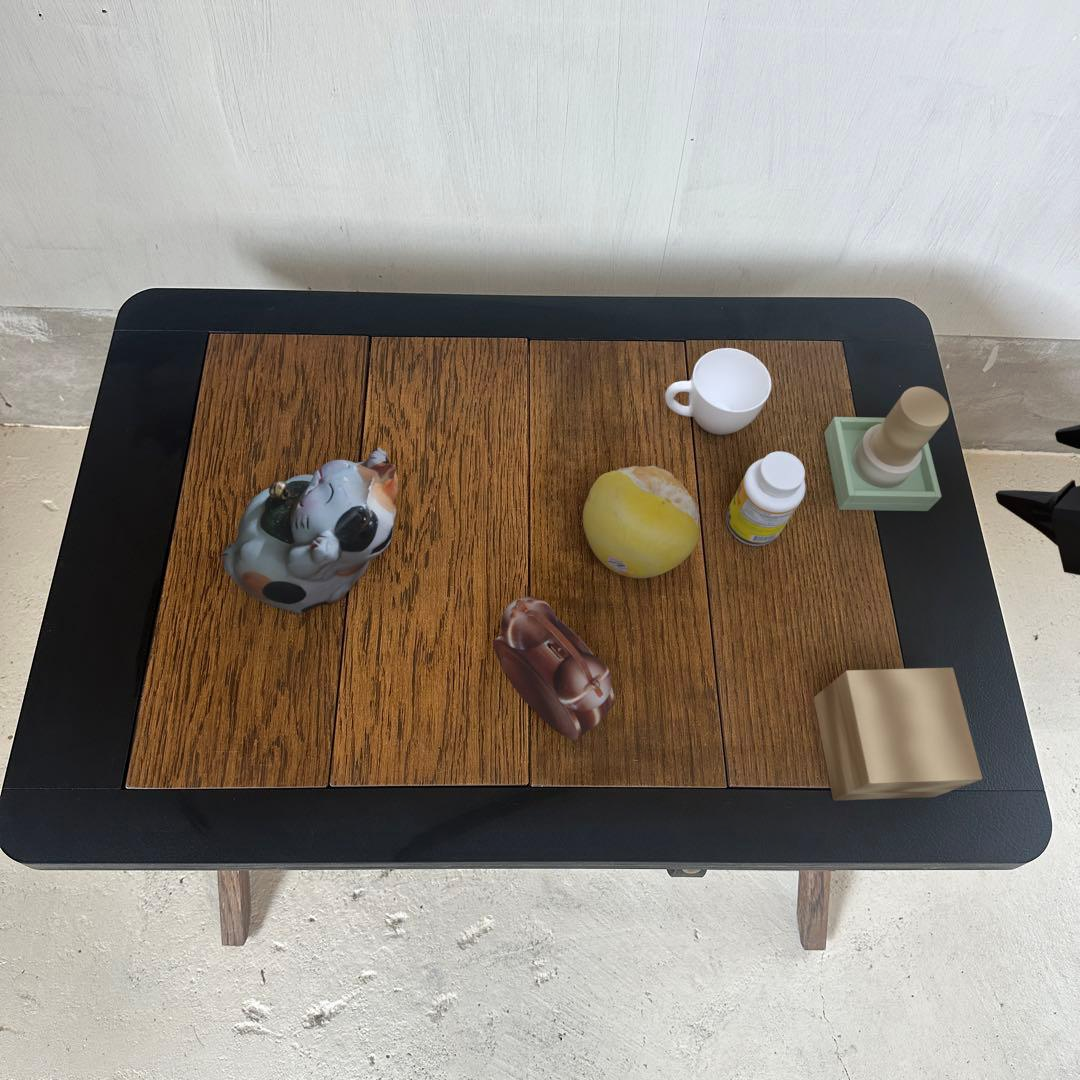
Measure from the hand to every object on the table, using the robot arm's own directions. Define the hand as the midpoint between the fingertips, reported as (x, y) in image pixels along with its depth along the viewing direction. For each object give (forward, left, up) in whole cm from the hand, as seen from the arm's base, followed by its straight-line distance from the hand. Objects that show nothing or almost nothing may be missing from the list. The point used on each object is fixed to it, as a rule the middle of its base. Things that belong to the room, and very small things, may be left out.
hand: (1027, 465), depth 72 cm
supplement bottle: (+19, +7, -14) cm, 24 cm away
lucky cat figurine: (+56, +26, -14) cm, 63 cm away
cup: (+27, -3, -14) cm, 30 cm away
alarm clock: (+31, +31, -14) cm, 45 cm away
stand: (+3, +24, -14) cm, 27 cm away
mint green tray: (+9, -4, -14) cm, 17 cm away
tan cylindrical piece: (+9, -4, -12) cm, 16 cm away
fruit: (+29, +14, -14) cm, 35 cm away
